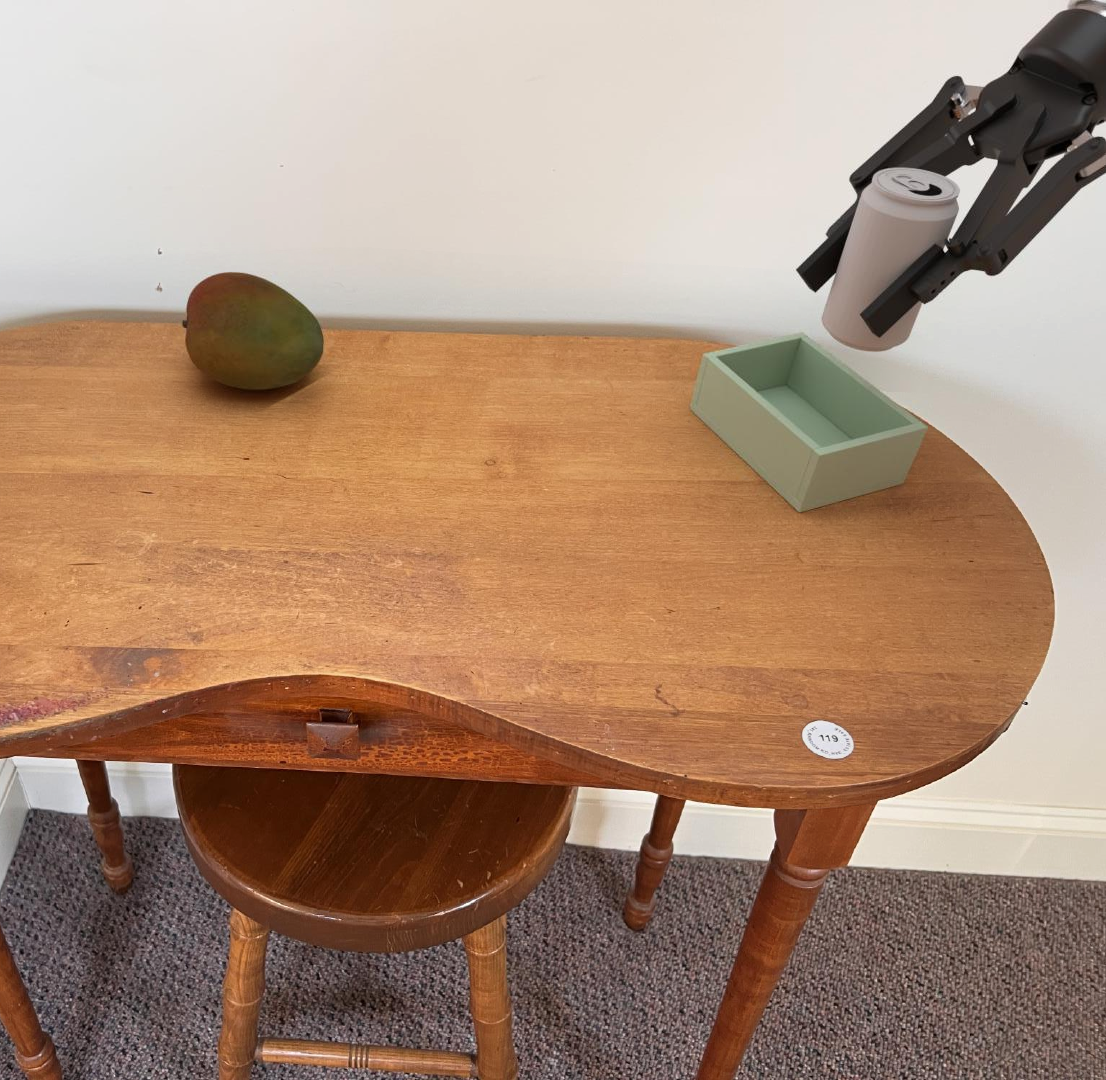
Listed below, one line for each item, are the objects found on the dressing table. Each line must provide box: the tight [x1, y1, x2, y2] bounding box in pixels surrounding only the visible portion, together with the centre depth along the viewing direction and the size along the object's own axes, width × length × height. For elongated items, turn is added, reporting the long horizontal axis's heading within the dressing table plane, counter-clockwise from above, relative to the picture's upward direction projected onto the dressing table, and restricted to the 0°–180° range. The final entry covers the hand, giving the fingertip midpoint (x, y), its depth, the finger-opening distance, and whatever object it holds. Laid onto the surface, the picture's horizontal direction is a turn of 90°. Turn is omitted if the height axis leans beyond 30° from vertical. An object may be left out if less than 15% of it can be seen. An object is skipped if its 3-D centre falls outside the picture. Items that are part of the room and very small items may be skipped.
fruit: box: [182, 271, 325, 391], centre depth 93 cm, size 12×13×10 cm
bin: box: [689, 331, 929, 513], centre depth 88 cm, size 16×11×6 cm
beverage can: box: [821, 168, 961, 353], centre depth 75 cm, size 6×6×12 cm
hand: (837, 302), depth 76 cm, fingers closed on beverage can, 6 cm apart
